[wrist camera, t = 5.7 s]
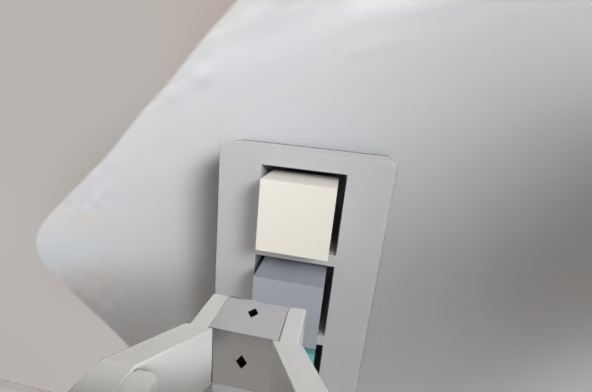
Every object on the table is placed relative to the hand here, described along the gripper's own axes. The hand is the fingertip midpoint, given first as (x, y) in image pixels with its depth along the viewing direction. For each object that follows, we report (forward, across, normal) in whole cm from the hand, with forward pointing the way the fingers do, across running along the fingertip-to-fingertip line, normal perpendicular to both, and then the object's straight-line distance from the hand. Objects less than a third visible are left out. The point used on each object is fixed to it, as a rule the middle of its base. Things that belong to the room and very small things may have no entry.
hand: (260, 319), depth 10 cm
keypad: (+15, 0, +9) cm, 17 cm away
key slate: (+12, 0, +6) cm, 13 cm away
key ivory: (+12, 0, -1) cm, 12 cm away
